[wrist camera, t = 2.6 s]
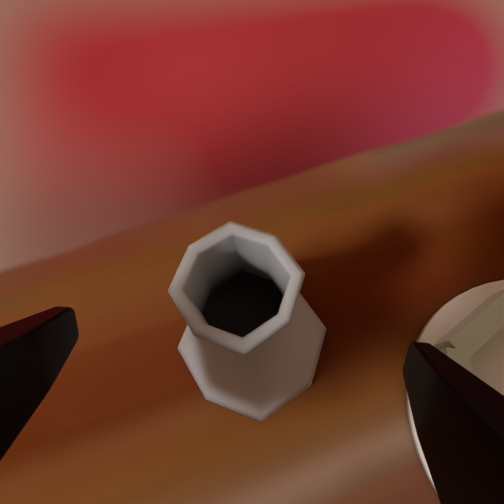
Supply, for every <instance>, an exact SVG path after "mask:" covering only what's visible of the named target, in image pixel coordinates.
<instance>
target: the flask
mask: <svg viewBox="0 0 504 504" xmlns="http://www.w3.org/2000/svg"><path fill="white" fill-rule="evenodd" d="M304 277H305V272H304V271H303V270H302V268H301V267H300V266H299V264H298V263H297V262H296V261H295V259H294V258H293V257H292V255H291V254H290V253H289V251H288V250H287V249H286V248H285V246H284V245H283V244H282V242H281V241H280V240H279V239H278V237H277V236H276V235H275V234H271V233H268V232H265V231H261V230H258V229H255V228H252V227H248V226H245V225H242V224H238V223H235V222H232V221H229V222H228V223H226V224H224V225H223V226H221V227H219V228H218V229H216V230H214V231H213V232H211V233H209V234H208V235H206V236H204V237H203V238H201V239H199V240H198V241H196V242H194V243H193V244H191V245H189V246H188V248H187V250H186V253H185V255H184V257H183V259H182V261H181V263H180V266H179V268H178V270H177V272H176V274H175V276H174V279H173V281H172V283H171V285H170V287H169V289H168V292H169V294H170V295H171V297H172V299H173V300H174V302H175V304H176V306H177V307H178V309H179V311H180V312H181V314H182V316H183V318H184V319H185V321H186V323H187V327H186V329H185V332H184V334H183V336H182V339H181V341H180V343H179V346H178V350H179V352H180V354H181V355H182V357H183V359H184V361H185V363H186V365H187V366H188V368H189V370H190V372H191V374H192V375H193V377H194V379H195V381H196V383H197V384H198V386H199V388H200V390H201V392H202V393H203V395H204V397H205V399H206V400H209V401H211V402H213V403H216V404H218V405H221V406H223V407H226V408H228V409H231V410H233V411H236V412H238V413H241V414H243V415H246V416H248V417H251V418H253V419H256V420H258V421H261V422H263V421H264V420H266V419H267V418H268V417H270V416H271V415H272V414H274V413H275V412H276V411H278V410H279V409H280V408H282V407H283V406H284V405H286V404H287V403H289V402H290V401H291V400H293V399H294V398H295V397H297V396H298V395H299V394H301V393H302V392H303V391H305V390H306V389H307V388H309V387H310V386H311V385H312V381H313V378H314V374H315V370H316V367H317V363H318V359H319V356H320V352H321V348H322V345H323V341H324V337H325V334H326V330H327V329H326V327H325V326H324V325H323V323H322V322H321V321H320V319H319V318H318V316H317V315H316V314H315V312H314V311H313V310H312V308H311V307H310V306H309V304H308V303H307V302H306V300H305V299H304V298H303V296H302V295H301V294H300V290H301V287H302V283H303V280H304Z"/></svg>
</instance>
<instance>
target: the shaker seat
mask: <svg viewBox="0 0 504 504" xmlns="http://www.w3.org/2000/svg"><path fill="white" fill-rule="evenodd" d="M416 342H425V343H430V344H431V345H433V346H434V347H436V348H437V349H438V350H440V351H441V352H443V353H444V354H446V355H447V356H448V357H450V358H451V359H453V360H454V361H455V362H457V363H458V364H460V365H461V366H463V367H464V368H465V369H467V370H468V371H470V372H471V373H472V374H474V375H475V376H477V377H478V378H480V379H481V380H482V381H484V382H485V383H487V384H488V385H489V386H491V387H492V388H494V389H495V390H497V391H498V392H499V393H501V394H502V395H504V280H501V281H495V282H490V283H486V284H483V285H480V286H477V287H474V288H472V289H470V290H468V291H466V292H464V293H462V294H460V295H458V296H456V297H454V298H453V299H451V300H450V301H448V302H447V303H445V304H444V305H443V306H441V307H440V308H439V309H438V310H437V311H436V312H435V313H434V314H433V315H432V316H431V318H430V319H429V320H428V322H427V323H426V324H425V326H424V327H423V328H422V330H421V332H420V334H419V336H418V338H417V340H416ZM405 395H406V409H407V417H408V422H409V427H410V432H411V436H412V439H413V443H414V446H415V449H416V452H417V455H418V458H419V460H420V462H421V465H422V467H423V469H424V471H425V474H426V476H427V478H428V480H429V481H430V483H431V485H432V487H433V489H434V490H435V492H436V494H437V491H436V489H435V486H434V483H433V480H432V477H431V474H430V471H429V468H428V465H427V463H426V460H425V457H424V454H423V451H422V448H421V445H420V442H419V439H418V436H417V432H416V428H415V425H414V420H413V416H412V411H411V407H410V403H409V398H408V394H407V389H406V393H405ZM437 496H438V494H437Z"/></svg>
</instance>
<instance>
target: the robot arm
mask: <svg viewBox="0 0 504 504" xmlns="http://www.w3.org/2000/svg"><path fill="white" fill-rule="evenodd" d="M78 336H79V332H78V326H77V321H76V316H75V312H74V310H73V309H72V308H70V307H61V306H57V307H53V308H51V309H48V310H45V311H43V312H40V313H37V314H34V315H32V316H29V317H26V318H24V319H21V320H18V321H16V322H13V323H10V324H7V325H5V326H2V327H0V461H1V459H2V458H3V456H4V455H5V453H6V452H7V450H8V449H9V448H10V446H11V445H12V443H13V442H14V440H15V439H16V438H17V436H18V435H19V433H20V432H21V430H22V429H23V427H24V426H25V425H26V423H27V422H28V420H29V419H30V417H31V416H32V415H33V413H34V412H35V410H36V409H37V407H38V406H39V405H40V403H41V402H42V400H43V399H44V397H45V396H46V394H47V393H48V391H49V390H50V388H51V386H52V385H53V383H54V381H55V380H56V378H57V376H58V374H59V372H60V371H61V369H62V367H63V365H64V363H65V362H66V360H67V358H68V356H69V355H70V353H71V351H72V349H73V347H74V346H75V344H76V342H77V340H78ZM403 376H404V381H405V385H406V389H407V394H408V398H409V403H410V407H411V411H412V416H413V420H414V425H415V428H416V432H417V436H418V439H419V442H420V445H421V448H422V451H423V454H424V457H425V460H426V463H427V465H428V468H429V471H430V474H431V477H432V480H433V483H434V486H435V489H436V491H437V494H438V497H439V500H440V503H441V504H504V395H502V394H501V393H499V392H498V391H497V390H495V389H494V388H492V387H491V386H489V385H488V384H487V383H485V382H484V381H482V380H481V379H480V378H478V377H477V376H475V375H474V374H472V373H471V372H470V371H468V370H467V369H465V368H464V367H463V366H461V365H460V364H458V363H457V362H455V361H454V360H453V359H451V358H450V357H448V356H447V355H446V354H444V353H443V352H441V351H440V350H438V349H437V348H436V347H434V346H433V345H431V344H430V343H425V342H412V343H411V344H410V346H409V349H408V353H407V356H406V360H405V363H404V367H403Z"/></svg>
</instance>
